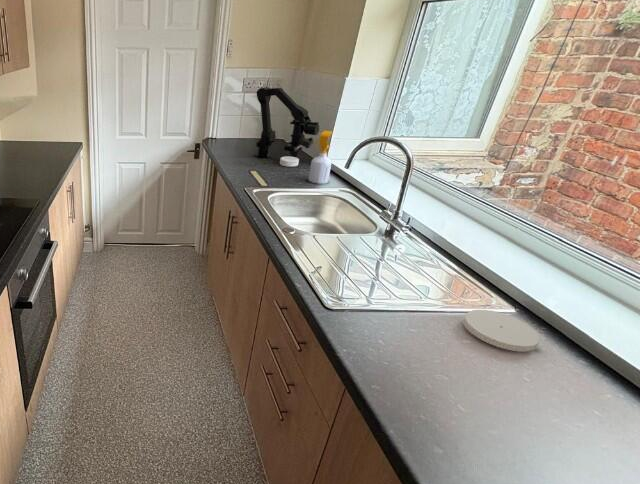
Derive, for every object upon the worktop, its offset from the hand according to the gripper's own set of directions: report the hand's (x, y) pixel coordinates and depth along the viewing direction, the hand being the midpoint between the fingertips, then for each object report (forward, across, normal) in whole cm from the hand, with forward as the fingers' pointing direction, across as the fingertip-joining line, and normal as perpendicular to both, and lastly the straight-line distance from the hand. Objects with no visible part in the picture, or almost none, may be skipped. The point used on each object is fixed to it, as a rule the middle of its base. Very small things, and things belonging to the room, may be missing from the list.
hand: (293, 160), depth 237 cm
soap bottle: (+1, -26, -23) cm, 35 cm away
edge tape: (+1, -40, +2) cm, 40 cm away
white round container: (+1, -6, 0) cm, 7 cm away
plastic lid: (0, -117, -98) cm, 153 cm away
